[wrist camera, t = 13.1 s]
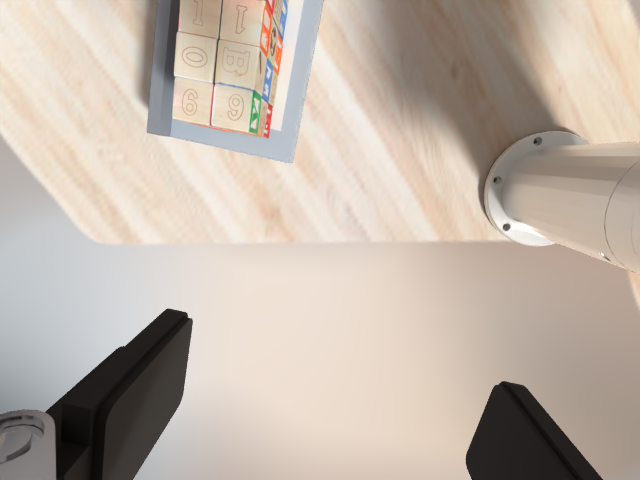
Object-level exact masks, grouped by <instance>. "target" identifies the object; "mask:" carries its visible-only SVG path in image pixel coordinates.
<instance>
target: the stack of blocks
mask: <svg viewBox="0 0 640 480" xmlns="http://www.w3.org/2000/svg"><path fill="white" fill-rule="evenodd" d="M288 3H289V0H180V8H179V22H178V32H177V34H176V48H175V62H174V77H175V81H174V95H173V107H172V118H173V119H176V120H180V121H183V122H187V123H190V124H194V125H198V126H202V127H207V128H212V129H217V130H222V131H227V132H234V133H239V134H243V135H248V136H254V137H259V138H266V139H268V138H269V133H270V125H271V118H272V111H273V109H272V108H273V107H274V103H275V96H276V89H277V83H278V75H279V70H280V63H281V57H282V50H283V38H284V31H285V24H286V18H287V11H288Z"/></svg>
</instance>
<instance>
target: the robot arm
mask: <svg viewBox="0 0 640 480" xmlns="http://www.w3.org/2000/svg"><path fill="white" fill-rule="evenodd" d="M534 140H535V143H534ZM494 178H495V179H496V180H495V181H494V182H493V179H494ZM484 205H485V210H486V213H487V215H488V218H489V220H490V222H491V223H492V224H493V226H494V227H495V229H496V230H498V231H499V232H500V233H501V234H502V235H503V236H505V237H507V238H509V239H510V240H512V241H515V242H517V243H520V244H524V245H528V246H546V245H552V244H555V243H559V244H562V245H564V246H567V247H569V248H572V249H574V250H577V251H580V252H582V253H585V254H587V255H590V256H593V257H595V258H598V259H600V260H603V261H606V262H608V263H611V264H614V265H616V266H619V267H621V268H624V269H627V270H629V271H632V272H634V273H637V274H640V142H623V143H604V144H590V143H589V142H588V141H586V140H584V139H583V138H581V137H579V136H577V135H574V134H571V133H569V132H561V131H548V132H541V133H535V134H532V135H529V136H527V137H524V138H522V139H520V140H519V141H517V142H515V143H513V144H512V145H511V146H510V147H508V148H507V149H506V150H505V151H504V152H503V153H502V154H501V155H500V156H499V157H498V159H497V160H496V161H495V163H494V164H493V166H492V168H491V169H490V171H489V174H488V177H487V179H486V183H485V188H484ZM504 224H505V226H504V227H503V225H504ZM192 323H193V321H192V319H190V318H188V315H187V313H186V312H182V311H177V310H173V309H166V310H165V311H164V312H163V313H161V314H160V315H159V316H158V317H157V318H156V319H155V320H154V321H153V322H151V323H150V324H149V325H148V326H147V327H146V328H145V329H144V330H143V331H141V332H140V333H139V334H138V335H137V336H136V337H135V338H134V339H133V340H132V341H130V342H129V343H128V344H127V345H126V346H123V347H119V348H118V349H116V350H115V351H114V352H113V353H112V354H111V355H109V356H108V357H107V358H106V359H105V360H104V361H102V362H101V363H100V364H99V365H98V366H97V367H96V368H95V369H93V370H92V371H91V372H90V373H89V374H88V375H87V376H85V377H84V378H83V379H82V380H81V381H80V382H79V383H77V384H76V386H74V387H73V388H72V389H71V390H70V391H68V392H67V393H66V394H65V395H64V396H63V397H62V398H60V399H59V400H58V401H57V402H56V403H55V404H54V405H53V406H51V407H50V408H49V409H48V410H47V411H46V412H42V411H38V410H17V411H10V412H7V413H3V414H0V480H133V479H134V477H135V475H136V474H137V472H138V470H139V469H140V467H141V466H142V464H143V463H144V461H145V459H146V458H147V456H148V455H149V453H150V451H151V450H152V448H153V447H154V445H155V443H156V442H157V440H158V439H159V437H160V435H161V434H162V432H163V431H164V429H165V427H166V426H167V424H168V422H169V421H170V419H171V418H172V416H173V415H174V413H175V411H176V410H177V408H178V406H179V405H180V402H181V399H182V396H183V391H184V383H185V376H186V369H187V361H188V354H189V346H190V339H191V331H192ZM466 466H467V469H468V472H469V474H470V476H471V479H472V480H603V479H602V478H601V477H600V476H599V475H598V473H597V472H596V471H595V470H594V468H593V467H592V466H591V465H590V464H589V462H588V461H587V460H586V459H585V458H584V457H583V455H582V454H581V453H580V452H579V450H578V449H577V448H576V447H575V446H574V444H573V443H572V442H571V441H570V440H569V438H568V437H567V436H566V435H565V434H564V432H563V431H562V430H561V429H560V428H559V426H558V425H557V424H556V423H555V422H554V421H553V419H552V418H551V417H550V416H549V414H548V413H547V412H546V411H545V410H544V408H543V407H542V406H541V405H540V404H539V402H537V400H536V399H535V398H534V396H533V395H532V394H531V393H530V392H529V391H528V389H527V388H526V387H525V386H523V385H519V384H515V383H509V382H505V381H503V382H501V383H500V384H499V385H495V386H494V388H493V389H492V392H491V394H490V397H489V399H488V402H487V405H486V407H485V409H484V412H483V414H482V417H481V419H480V422H479V424H478V427H477V429H476V432H475V434H474V437H473V439H472V442H471V444H470V447H469V449H468V451H467V454H466Z"/></svg>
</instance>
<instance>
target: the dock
mask: <svg viewBox="0 0 640 480" xmlns="http://www.w3.org/2000/svg"><path fill="white" fill-rule="evenodd" d="M323 1H324V0H289V3H288V11H287V18H286V24H285V31H284V38H283V50H282V57H281V63H280V70H279V75H278V83H277V89H276V96H275V103H274V107H273V108H272V109H273V111H272V118H271V125H270V133H269V138H268V139H266V138H259V137H254V136H248V135H243V134H239V133H234V132H227V131H222V130H217V129H212V128H207V127H202V126H198V125H194V124H190V123H187V122H183V121H180V120H176V119H173V118H172V107H173V95H174V81H175V77H174V62H175V48H176V34H177V32H178V22H179V8H180V0H158V2H157V14H156V26H155V38H154V51H153V63H152V75H151V87H150V99H149V111H148V123H147V133H151V134H155V135H161V136H169V137H174V138H178V139H183V140H187V141H192V142H196V143H201V144H205V145H210V146H214V147H219V148H223V149H228V150H232V151H237V152H241V153H246V154H250V155H255V156H259V157H264V158H268V159H273V160H277V161H282V162H286V163H293V159H294V153H295V148H296V143H297V138H298V132H299V127H300V122H301V117H302V111H303V106H304V101H305V96H306V90H307V85H308V80H309V75H310V70H311V64H312V59H313V54H314V49H315V43H316V38H317V33H318V28H319V22H320V17H321V12H322V7H323Z"/></svg>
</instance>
